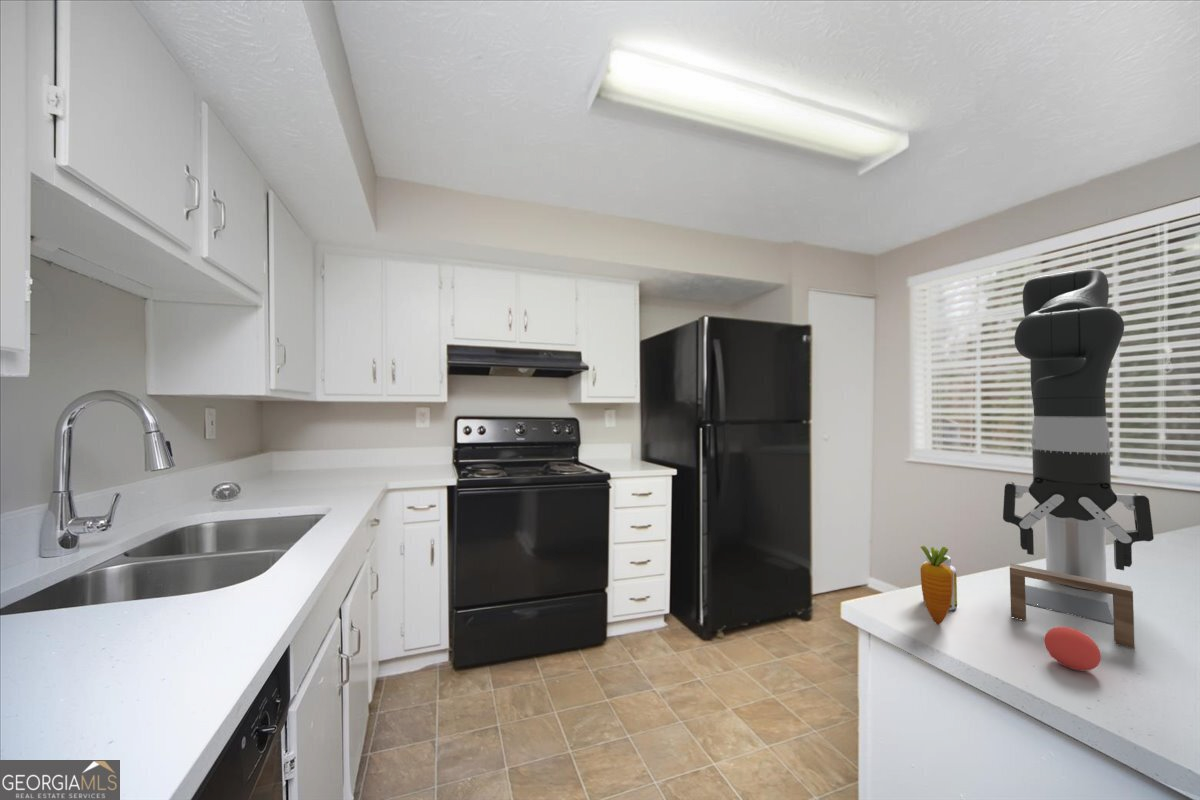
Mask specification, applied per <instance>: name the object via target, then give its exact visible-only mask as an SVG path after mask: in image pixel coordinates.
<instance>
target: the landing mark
mask: <svg viewBox="0 0 1200 800" xmlns="http://www.w3.org/2000/svg"><path fill="white" fill-rule="evenodd" d="M1025 597H1026V605H1027V604H1030V605H1029V606H1031V605H1035V606H1034V607H1036V606H1039V607H1038V608H1040V607H1043V608H1042V609H1044V608H1048V609H1052V610H1051V611H1053V610H1056V611H1055V612H1057V611H1060V612H1059V613H1061V612H1064V613H1063V614H1065V613H1069V614H1068V615H1070V614H1073V615H1072V616H1074V615H1076V616H1075V617H1078V616H1081V617H1080V618H1083V617H1085V618H1084V619H1087V618H1089V619H1088V620H1091V619H1093V620H1092V621H1095V620H1097V622H1099V623H1104V622H1105V624H1109V625H1113V626H1114V621H1113V614H1112V612H1111V610H1110V606H1109V604H1108V601H1103V600H1099V599H1095V598H1094V599H1093V598H1088V597H1084V596H1078V595H1074V594H1069V593H1065V592H1060V591H1055V590H1050V589H1046V588H1042V587H1041V588H1040V587H1036V586H1031V585H1027V584H1025ZM1037 604H1038V605H1037ZM1048 609H1047V610H1048Z"/></svg>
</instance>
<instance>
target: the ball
mask: <svg viewBox="0 0 1200 800" xmlns="http://www.w3.org/2000/svg"><path fill="white" fill-rule="evenodd" d="M1043 639H1044V641H1043V642H1044V647H1045V649H1046V651H1047V652H1048V654H1049V655H1050V656H1051V657H1052V658H1053V659H1054V660H1056V662H1057V663H1059V664H1061V666H1064V667H1066V668H1068V669H1072V670H1076V671H1085V672H1086V671H1091V670H1093V669H1095V668H1096V667H1098V666H1099V664H1100V663H1101V660H1102V654H1101V651H1100V648H1099V646H1098V645H1097V644H1096V642H1095V641H1094V640H1093V639H1092V638H1091V637H1090V636H1089V635H1087V634H1086V633H1084V632H1082V631H1080V630H1078V629H1076V628H1073V627H1068V626H1056V627H1053V628H1051V629H1049V630H1048V631H1047V632H1046V633H1045V634H1044V638H1043Z"/></svg>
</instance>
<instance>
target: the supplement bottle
mask: <svg viewBox="0 0 1200 800" xmlns="http://www.w3.org/2000/svg"><path fill="white" fill-rule="evenodd" d="M929 553H930V555H931V557H932V554H931V552H929ZM938 554H939V553H938ZM944 557H948V559H947V560H945V561H944V562H943V563H941V564H943V565H945V566H947V567H949V568H950V569H951V570H952V572H953V589H952V598H951V603H950V607H949V610H948V611H952V610H956V609H958V586H957V585H958V584H957V582H958V581H957V569H956V568H955V566H953V565H952V558H951V557H950V556H949V555H946V554H945V556H944ZM926 562H930V561H929V559H928V558H927V557H926V561H924V562H923V563H922V565H923V564H924V563H926ZM922 565H921V566H922ZM922 597H923V596H922ZM923 600H924V597H923Z"/></svg>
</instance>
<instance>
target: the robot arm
mask: <svg viewBox="0 0 1200 800" xmlns="http://www.w3.org/2000/svg"><path fill="white" fill-rule="evenodd" d="M1109 286H1110V285H1109V279H1108V277H1107V276H1106V274H1105V273H1104V271H1102V270H1100V269H1096V268H1085V269H1078V270H1071V271H1064V272H1057V273H1051V274H1047V275H1040V276H1036V277H1033V278H1030V279H1029V280H1027V281H1026V283H1025V284H1024V286H1023V289H1022V306H1023V307H1022V308H1023V314H1024V318H1023V319H1022V320H1021V321H1020V322H1019V324H1018V326H1017V327H1016V329H1015V333H1014V346H1015V348H1016V350H1017V352H1018V354H1020V355H1021V356H1023V357H1024V358H1026V359H1028V360H1029V361H1030V362H1029V363H1030V388H1031V389H1030V390H1031V399H1032V406H1033V424H1032V428H1031V440H1030V443H1031V448H1032V449H1031V450H1032V454H1031V455H1032V482H1031V484H1030V485H1026V484H1018V483H1014V482H1012V481H1008V482H1006V483H1005V484H1004V494H1003V508H1002V509H1003V511H1002V519H1003V521H1004V522H1006V523H1008V524H1009V523H1010V524H1013V525H1016V526H1017V527H1018V528H1019V533H1020V537H1019V538H1020V539H1019V540H1020V542H1019V543H1020V546H1019V547H1021V549H1022V550H1024V551H1025V550H1026V554H1027V555H1031V556H1035V553H1034V552H1035V547H1034V542H1035V541H1034V527H1033V526H1034V525H1035V524H1036V523H1037V522H1039V521H1041V520H1042V519H1044V524H1045V527H1044V528H1045V565H1046V567H1045V568H1046V569H1045V570H1048V571H1053V572H1059V573H1064V574H1069V575H1075V576H1080V577H1085V578H1090V579H1096V580H1101V581H1106V582H1108V581H1107V554H1106V553H1107V552H1106V548H1107V547H1106V530H1107V531H1108V532H1109V533H1111V534H1112V536H1113V537H1114V538H1115V539H1114V538H1113V561H1114V562H1113V563H1114V567H1115V568H1114V569H1115V570H1120V571H1125V567H1128V568H1130V567H1131V566H1132V564H1133V557H1132V556H1133V555H1132V553H1133V552H1132V545H1133V544H1134V543H1137V542H1151V541H1153V540H1154V539H1155V537H1154V530H1153V521H1152V520H1153V519H1152V516H1151V515H1152V513H1151V505H1150V499H1149V497H1147V496H1146V495H1145V494H1144V493H1140V492H1135V493H1132V494H1131V493H1130V494H1128V493H1115V492H1114V491H1113V489H1112V479H1111V478H1112V477H1111V476H1112V475H1111V452H1110V451H1111V447H1112V444H1111V441H1110V431H1109V427H1108V422H1107V406H1106V405H1107V404H1106V403H1107V402H1106V401H1107V400H1106V387H1107V380H1108V375H1109V370H1110V368H1111V365H1112V361H1113V359H1114V357H1115V355H1116V352H1117V349H1118V348H1119V345H1120V343H1121V341H1122V338H1123V335H1124V331H1125V321H1124V320H1123V319H1124V318H1123V317H1122V315H1120V313H1118V312H1117V311H1116V310H1114V309H1113V308H1110V307H1107V306H1108V305H1109V304H1108V303H1109V297H1110V295H1109V294H1110V293H1109V292H1110V291H1109V289H1110V287H1109ZM1026 493H1029V494H1030V496H1031V497H1032V498H1033V499H1034V500H1035V501H1036V502H1037V503H1038V504H1037V505H1035V506H1034V507H1033V508H1032V509H1030V511H1029V512H1027V513H1026V514H1025V515H1024V516H1023V517H1022V516H1020V515H1017V514H1016V513H1015V512H1016V499H1021V498H1022V497H1023V496H1024V494H1026ZM1117 502H1120V503H1122V504H1123V506H1124V507H1125V508H1126V509H1127V510H1128V511H1131V512H1132V511H1133V517H1134V526H1135V527H1134V529H1132V530H1125V529H1124V528H1123V527H1122V526H1121V525H1120V524H1118V522H1116V520H1114V518H1113V517H1111V515H1110V514H1108V512H1107V510H1108V509H1110V508H1111V507H1112V506H1114V505H1115V504H1116V503H1117ZM1070 587H1071V588H1074V587H1073V586H1070ZM1075 588H1076V589H1079V588H1078V587H1075ZM1080 589H1082V590H1084V589H1083V588H1080Z"/></svg>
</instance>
